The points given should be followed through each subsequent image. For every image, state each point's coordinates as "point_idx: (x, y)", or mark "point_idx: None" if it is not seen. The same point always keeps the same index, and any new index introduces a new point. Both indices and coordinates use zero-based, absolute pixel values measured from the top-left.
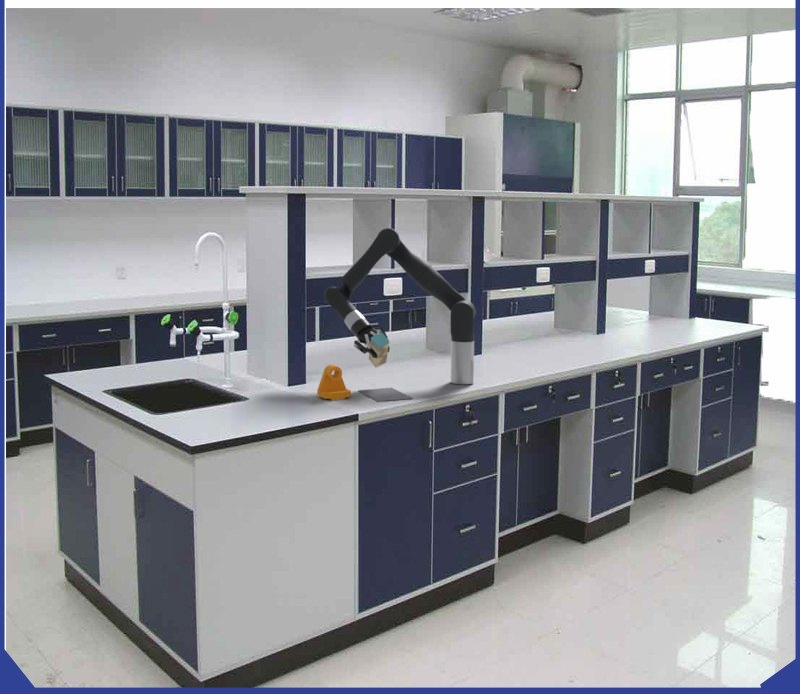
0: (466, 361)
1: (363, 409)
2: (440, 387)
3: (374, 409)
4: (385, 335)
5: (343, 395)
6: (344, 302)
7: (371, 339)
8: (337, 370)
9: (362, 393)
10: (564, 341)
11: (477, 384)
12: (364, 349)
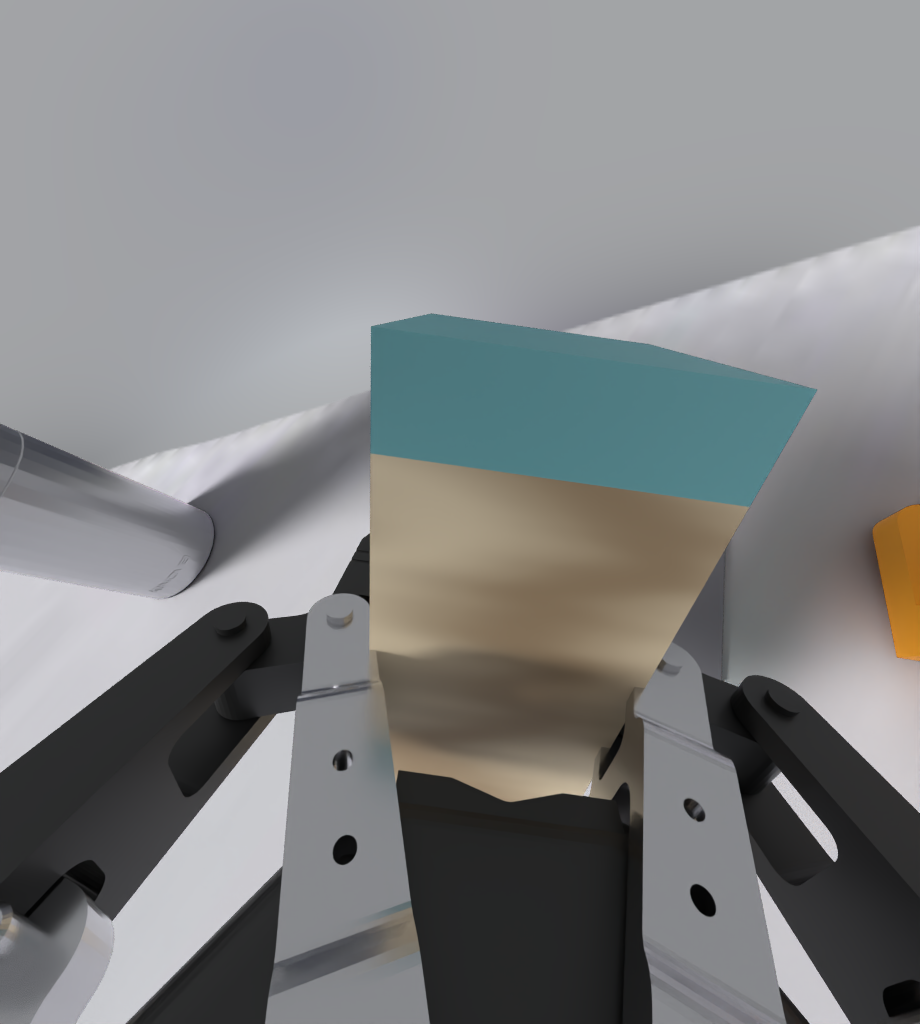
0: (95, 464)
1: (884, 279)
2: (293, 518)
3: (816, 270)
4: (161, 673)
5: None
6: None
7: (757, 451)
8: None
9: (721, 597)
10: None
11: (178, 497)
12: (791, 695)
